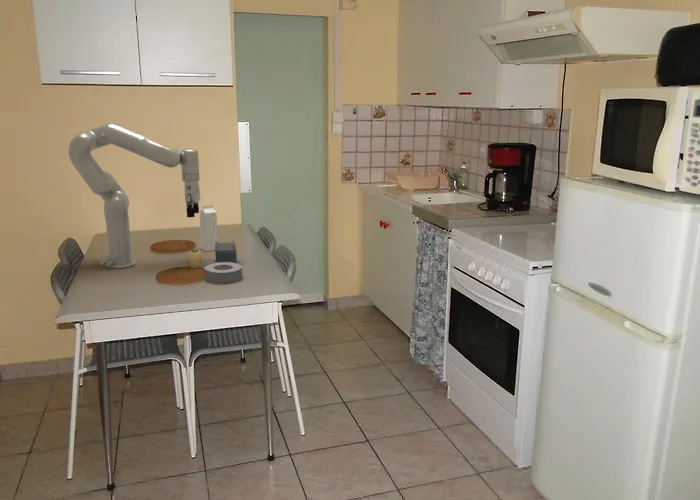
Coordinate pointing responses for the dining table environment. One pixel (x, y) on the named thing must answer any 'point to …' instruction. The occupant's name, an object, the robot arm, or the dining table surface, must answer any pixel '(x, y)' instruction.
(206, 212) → the milk
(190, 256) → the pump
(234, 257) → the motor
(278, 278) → the dining table surface
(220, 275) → the tape roll
